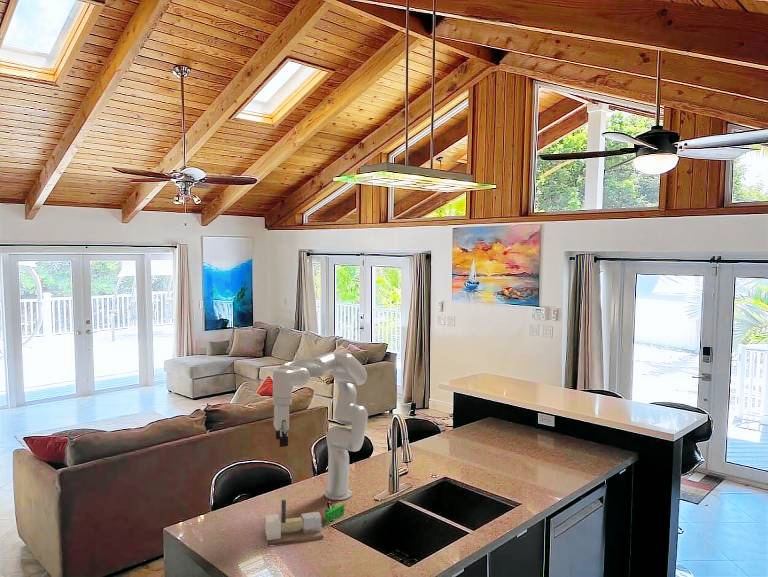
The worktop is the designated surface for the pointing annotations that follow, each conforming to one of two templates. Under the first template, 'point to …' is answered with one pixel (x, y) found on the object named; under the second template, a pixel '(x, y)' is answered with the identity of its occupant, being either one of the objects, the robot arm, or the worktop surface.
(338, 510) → the pipe clamp
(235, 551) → the worktop surface
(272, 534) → the socket
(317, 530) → the sleeve
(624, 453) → the worktop surface
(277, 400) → the robot arm
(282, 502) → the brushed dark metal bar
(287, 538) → the base board
